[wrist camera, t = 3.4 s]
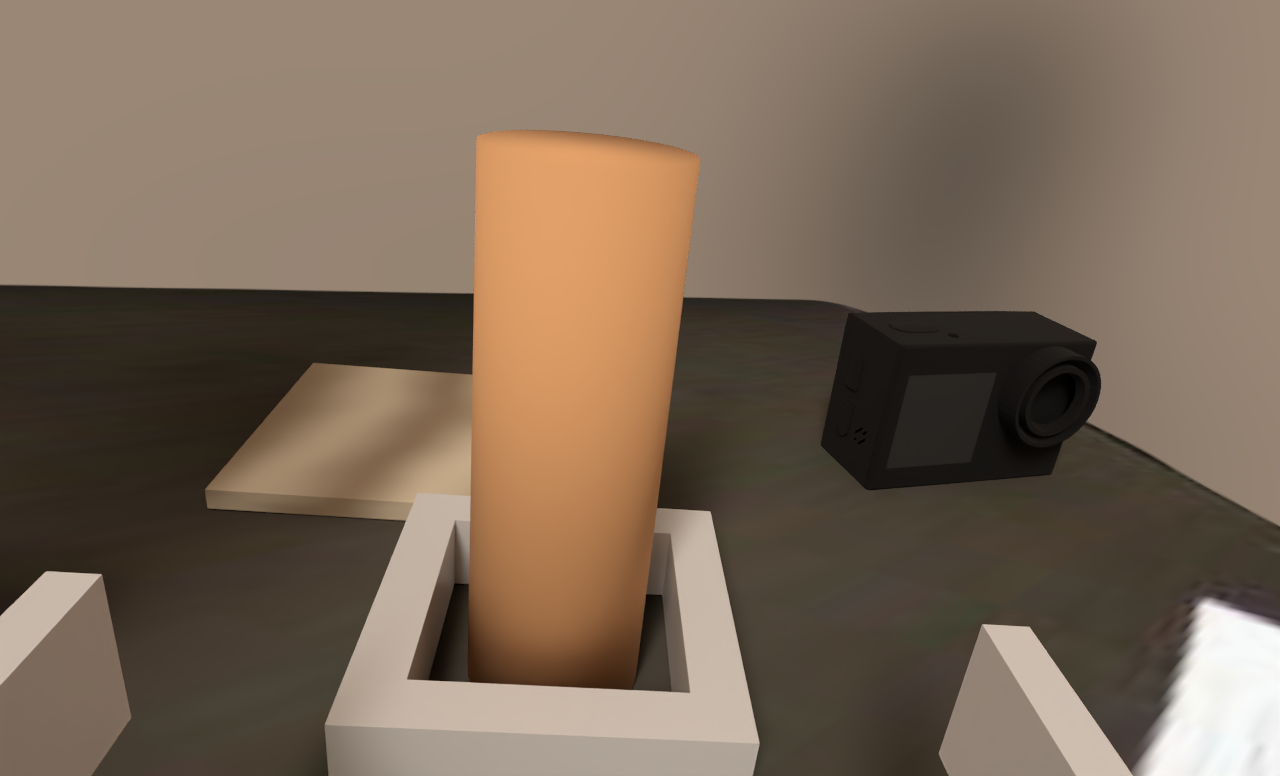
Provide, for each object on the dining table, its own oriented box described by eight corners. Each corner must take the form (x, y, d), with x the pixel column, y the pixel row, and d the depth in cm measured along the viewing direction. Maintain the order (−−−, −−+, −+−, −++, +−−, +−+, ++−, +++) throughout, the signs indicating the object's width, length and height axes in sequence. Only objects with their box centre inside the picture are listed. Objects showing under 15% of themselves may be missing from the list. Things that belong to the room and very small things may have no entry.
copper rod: (454, 725, 22) (459, 152, 16) (480, 605, 27) (492, 123, 21) (639, 733, 22) (712, 176, 16) (633, 612, 27) (689, 143, 21)
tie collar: (330, 802, 20) (324, 724, 19) (418, 553, 29) (417, 492, 28) (743, 817, 20) (759, 743, 19) (701, 570, 29) (710, 511, 28)
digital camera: (879, 507, 35) (918, 355, 32) (818, 446, 40) (847, 309, 37) (1071, 489, 38) (1121, 349, 35) (993, 435, 43) (1032, 308, 40)
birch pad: (207, 508, 30) (204, 489, 30) (314, 377, 41) (313, 362, 41) (537, 528, 31) (538, 510, 30) (555, 395, 42) (556, 381, 41)
